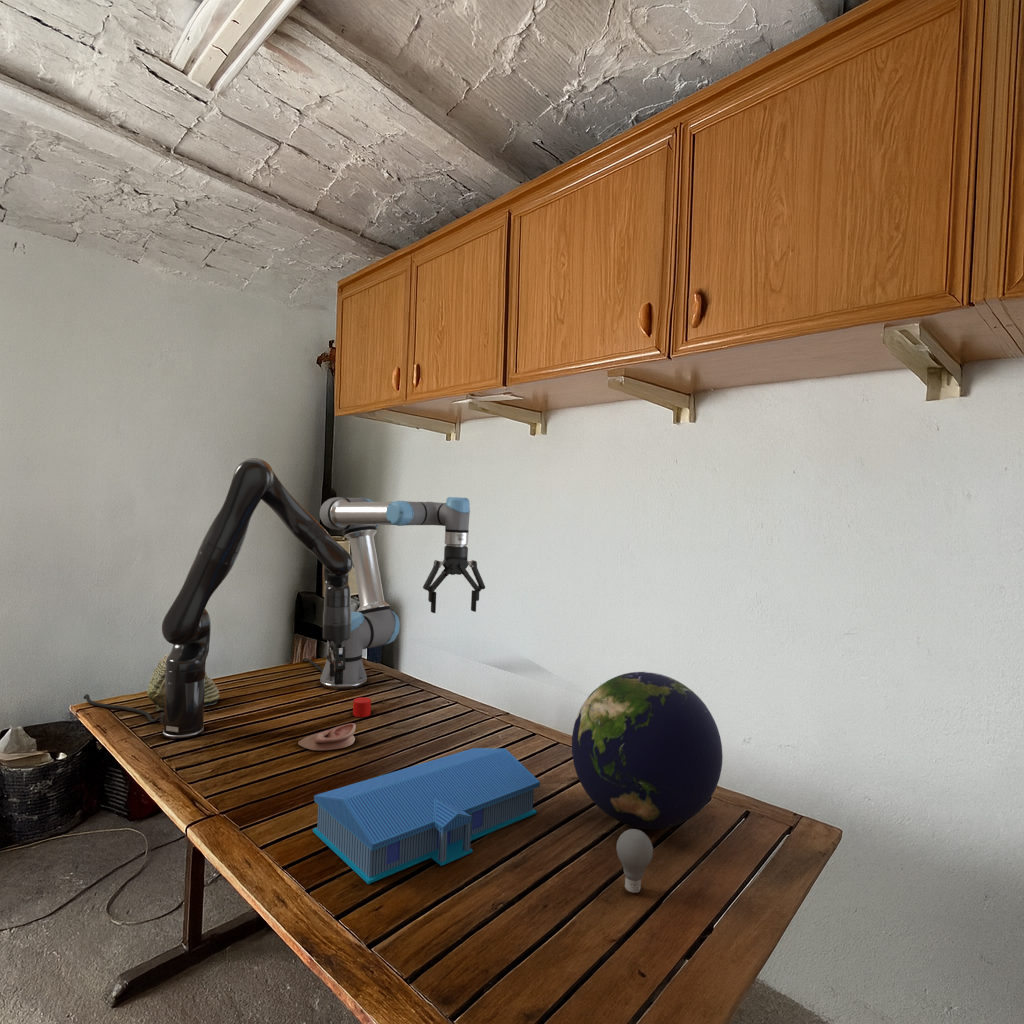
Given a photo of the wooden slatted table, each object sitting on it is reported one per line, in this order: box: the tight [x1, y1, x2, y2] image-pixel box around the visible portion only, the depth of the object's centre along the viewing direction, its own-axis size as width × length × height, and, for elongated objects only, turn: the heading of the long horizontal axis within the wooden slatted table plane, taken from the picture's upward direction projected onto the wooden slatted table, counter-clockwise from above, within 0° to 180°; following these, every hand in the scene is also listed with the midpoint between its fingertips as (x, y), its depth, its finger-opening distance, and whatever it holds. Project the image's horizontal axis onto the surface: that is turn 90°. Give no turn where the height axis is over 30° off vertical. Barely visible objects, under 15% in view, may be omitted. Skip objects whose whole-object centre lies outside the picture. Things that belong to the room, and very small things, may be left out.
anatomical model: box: [297, 722, 357, 751], centre depth 162 cm, size 13×4×12 cm
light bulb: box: [615, 828, 654, 894], centre depth 106 cm, size 6×6×10 cm
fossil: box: [147, 654, 221, 712], centre depth 185 cm, size 9×18×15 cm, turn 132°
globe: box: [571, 671, 724, 831], centre depth 129 cm, size 30×30×30 cm
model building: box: [312, 747, 541, 885], centre depth 124 cm, size 39×24×10 cm, turn 132°
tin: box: [352, 696, 372, 718], centre depth 185 cm, size 5×5×4 cm
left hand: (336, 680), depth 174 cm, fingers open, 8 cm apart
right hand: (453, 611), depth 203 cm, fingers open, 13 cm apart
